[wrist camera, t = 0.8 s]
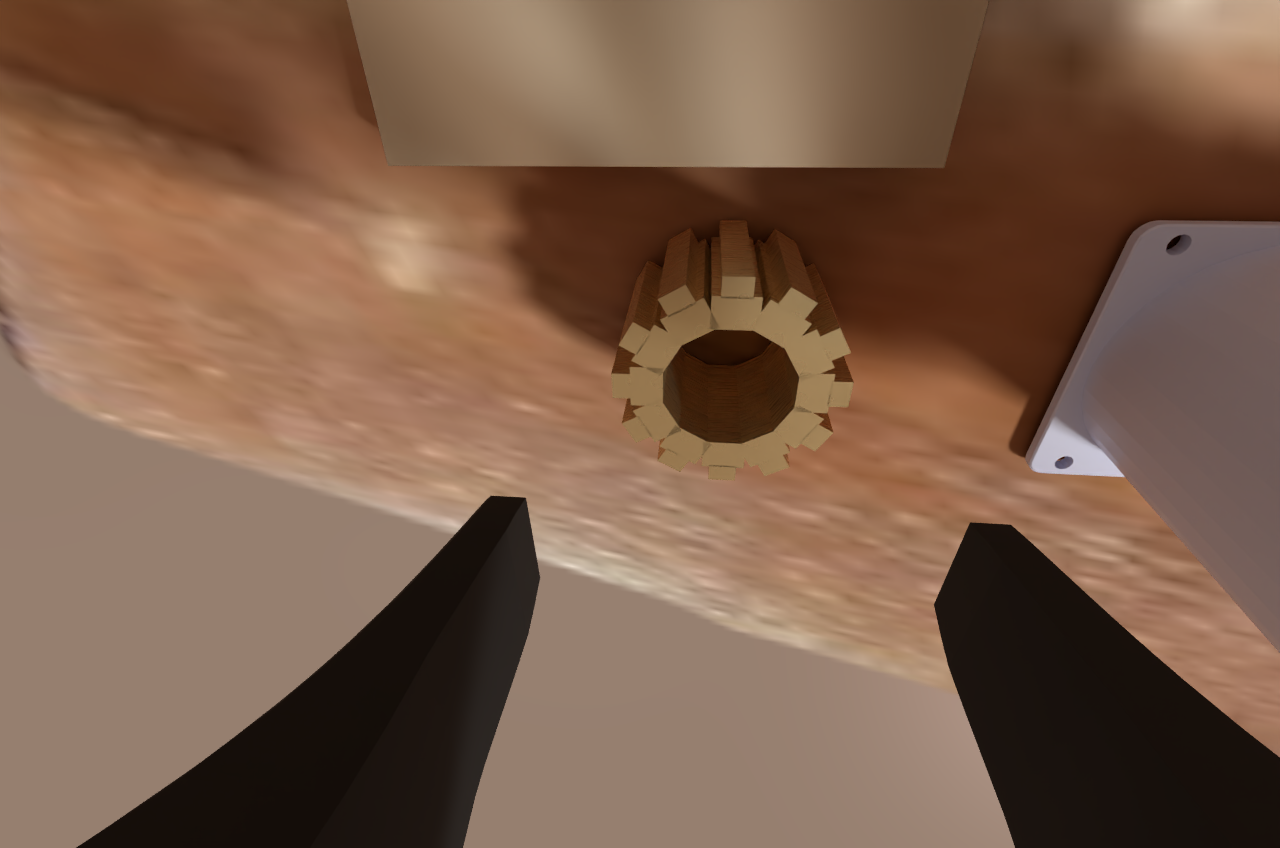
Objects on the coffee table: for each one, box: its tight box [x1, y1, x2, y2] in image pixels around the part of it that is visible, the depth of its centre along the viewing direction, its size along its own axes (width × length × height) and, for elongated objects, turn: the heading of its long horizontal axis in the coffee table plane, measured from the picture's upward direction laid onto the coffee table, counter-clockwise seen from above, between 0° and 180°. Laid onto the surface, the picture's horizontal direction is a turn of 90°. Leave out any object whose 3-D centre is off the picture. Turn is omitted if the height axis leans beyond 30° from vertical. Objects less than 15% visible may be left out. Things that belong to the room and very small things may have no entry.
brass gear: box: [611, 220, 854, 481], centre depth 16 cm, size 6×6×4 cm
